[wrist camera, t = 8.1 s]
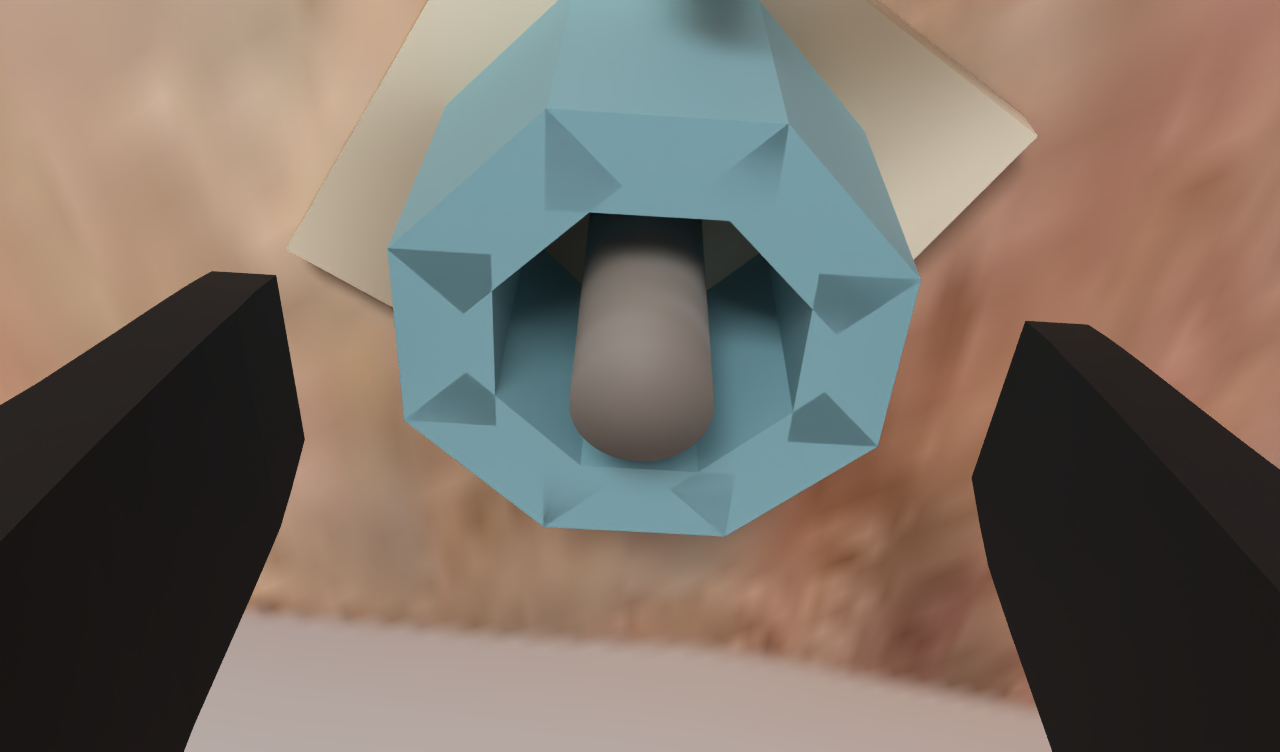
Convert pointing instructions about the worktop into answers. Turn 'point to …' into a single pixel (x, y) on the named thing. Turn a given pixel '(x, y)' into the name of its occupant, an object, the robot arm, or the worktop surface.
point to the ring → (665, 187)
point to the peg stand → (650, 245)
